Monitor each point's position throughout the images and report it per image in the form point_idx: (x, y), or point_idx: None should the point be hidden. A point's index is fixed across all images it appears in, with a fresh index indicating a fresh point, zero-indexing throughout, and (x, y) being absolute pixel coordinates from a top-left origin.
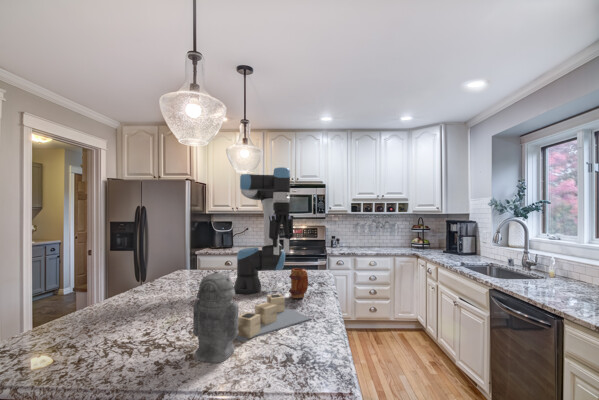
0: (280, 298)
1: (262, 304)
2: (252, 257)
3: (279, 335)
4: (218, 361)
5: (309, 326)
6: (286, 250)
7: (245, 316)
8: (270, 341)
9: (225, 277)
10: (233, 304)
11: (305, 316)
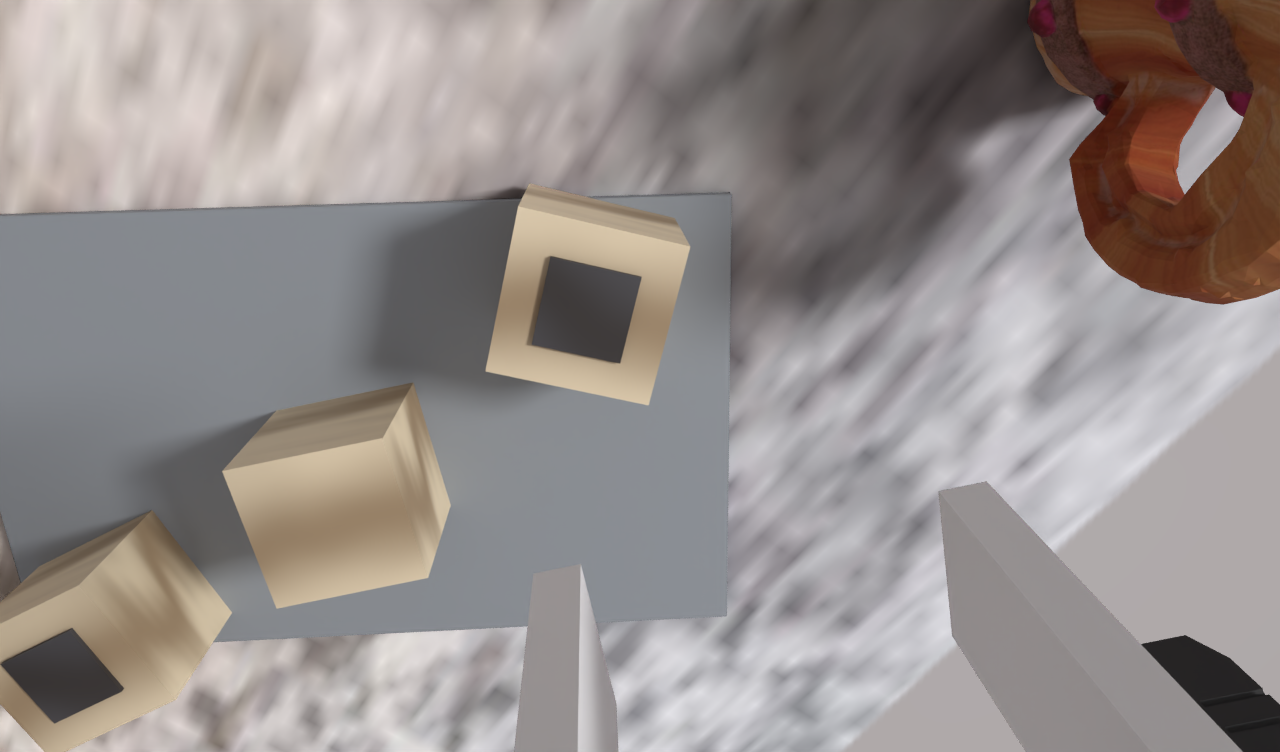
0: (599, 392)
1: (309, 480)
2: None
3: (347, 699)
4: None
5: (622, 693)
6: (980, 633)
7: (26, 686)
8: (249, 738)
9: None
10: None
11: (713, 561)
